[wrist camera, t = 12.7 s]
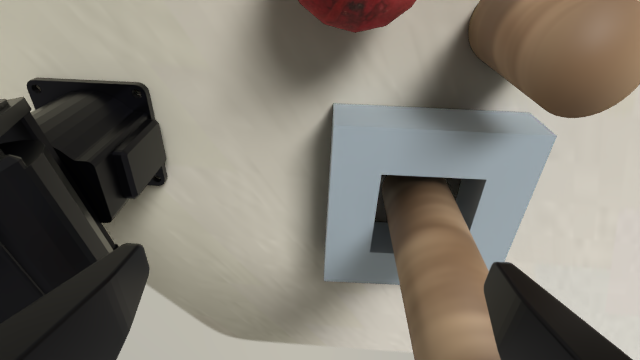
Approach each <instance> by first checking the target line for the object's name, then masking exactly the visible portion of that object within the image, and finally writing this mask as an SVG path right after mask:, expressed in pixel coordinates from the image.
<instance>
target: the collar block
mask: <svg viewBox="0 0 640 360" xmlns="http://www.w3.org/2000/svg"><path fill="white" fill-rule="evenodd" d="M556 137H557V136H556V135H555V134H554V133H553V132H552V131H551V130H549V129H548V128H547V127H546V126H545V125H544V124H542V123H541V122H540V121H539V120H538V119H537V118H535V117H534V116H533V115H532V114H531V113H527V112H506V111H485V110H463V109H442V108H421V107H400V106H378V105H357V104H336V103H333V120H332V137H331V153H330V170H329V186H328V203H327V219H326V236H325V256H324V281H334V282H355V283H375V284H396V285H400V282H399V277H398V272H397V267H396V262H395V257H394V252H393V247H392V241H391V236H390V231H389V226H388V223H386V222H374V221H375V214H376V207H377V201H378V194H379V187H380V181H381V175H401V176H422V177H443V178H462V180H461V183H460V187H459V190H458V194H457V197H456V203H457V205H458V208H459V210H460V212H461V214H462V216H463V218H464V220H465V222H466V224H467V226H468V229H469V231H470V233H471V235H472V237H473V239H474V241H475V243H476V245H477V247H478V250H479V252H480V254H481V256H482V258H483V260H484V262H485V264H486V266H487V269H488V271H489V270H490V268H491V265H492V264H493V263H494V262H504V261H505V259H506V256H507V254H508V252H509V249H510V247H511V244H512V242H513V240H514V237H515V235H516V232H517V230H518V228H519V225H520V223H521V220H522V218H523V216H524V213H525V211H526V209H527V206H528V204H529V201H530V199H531V197H532V194H533V192H534V189H535V187H536V185H537V182H538V180H539V177H540V175H541V173H542V170H543V168H544V166H545V163H546V161H547V158H548V156H549V154H550V151H551V149H552V146H553V144H554V142H555V139H556Z"/></svg>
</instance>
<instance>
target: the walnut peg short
mask: <svg viewBox="0 0 640 360" xmlns="http://www.w3.org/2000/svg"><path fill="white" fill-rule="evenodd" d="M468 37H469V43H470V46H471V49H472V50H473V52H474V53H475V55H476V56H477V57H478V58H479V59H480V60H482V61H483V62H484V63H486V64H487V65H488V66H489V67H491V68H492V69H493V70H495V71H496V72H497V73H498V74H500V75H501V76H502V77H504V78H505V79H506V80H507V81H509V82H510V83H511V84H513V85H514V86H515V87H516V88H518V89H519V90H520V91H522V92H523V93H524V94H525V95H527V96H528V97H529V98H531V99H532V100H533V101H534V102H536V103H537V104H538V105H540V106H541V107H542V108H543V109H545V110H546V111H548V112H549V113H551V114H554V115H556V116H560V117H566V118H579V117H586V116H590V115H594V114H597V113H600V112H602V111H604V110H606V109H609V108H610V107H612V106H614V105H616V104H617V103H619V102H620V101H622V100H623V99H624V98H626V97H627V96H628V95H629V94H630V93H631V92H632V91H634V90H635V89H636V88H637V87H638V85H639V84H640V2H639V1H637V0H481V1H480V2H479V3H478V5H477V6H476V8H475V10H474V12H473V14H472V16H471V19H470V23H469V28H468Z"/></svg>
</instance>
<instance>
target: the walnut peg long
mask: <svg viewBox="0 0 640 360" xmlns="http://www.w3.org/2000/svg"><path fill="white" fill-rule="evenodd" d="M382 196H383V201H384V206H385V211H386V216H387V221H388V226H389V231H390V236H391V241H392V247H393V252H394V257H395V262H396V267H397V272H398V277H399V282H400V287H401V292H402V298H403V303H404V308H405V313H406V318H407V323H408V328H409V333H410V338H411V343H412V348H413V354H414V359H415V360H501V359H500V356H499V353H498V350H497V346H496V342H495V338H494V334H493V330H492V325H491V321H490V317H489V312H488V308H487V304H486V300H485V295H484V283H485V280H486V278H487V275H488V273H489V271H488V269H487V266H486V264H485V262H484V260H483V258H482V256H481V254H480V252H479V250H478V247H477V245H476V243H475V241H474V239H473V237H472V235H471V233H470V231H469V229H468V226H467V224H466V222H465V220H464V218H463V216H462V214H461V212H460V210H459V208H458V205H457V203H456V201H455V199H454V197H453V195H452V193H451V191H450V189H449V187H448V184H447V182H446V180H445V178H443V177H422V176H401V175H387V177H386V178H385V180H384V182H383V186H382Z"/></svg>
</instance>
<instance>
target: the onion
mask: <svg viewBox="0 0 640 360" xmlns="http://www.w3.org/2000/svg"><path fill="white" fill-rule="evenodd" d="M298 1H299V3H300V4H301V5H302V6H304V7H305V8H306V9H307V10H308V11H309V12H311V13H312V14H313V15H314V16H315V17H316V18H318V19H319V20H320V21H321V22H322V23H324V24H326V25H329V26H333V27H337V28H340V29H344V30H348V31H351V32H355V33H356V32H360V31H365V30H369V29H374V28H378V27H383V26H386V25H388V24H389V23H390V22H392V21H393V20H394V19H396V18H397V17H398V16H400V15H401V14H403V13H404V12H405V11H407V10H408V9H409V8H411V7H412V5H413V4H414V3H415V1H416V0H298Z"/></svg>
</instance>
